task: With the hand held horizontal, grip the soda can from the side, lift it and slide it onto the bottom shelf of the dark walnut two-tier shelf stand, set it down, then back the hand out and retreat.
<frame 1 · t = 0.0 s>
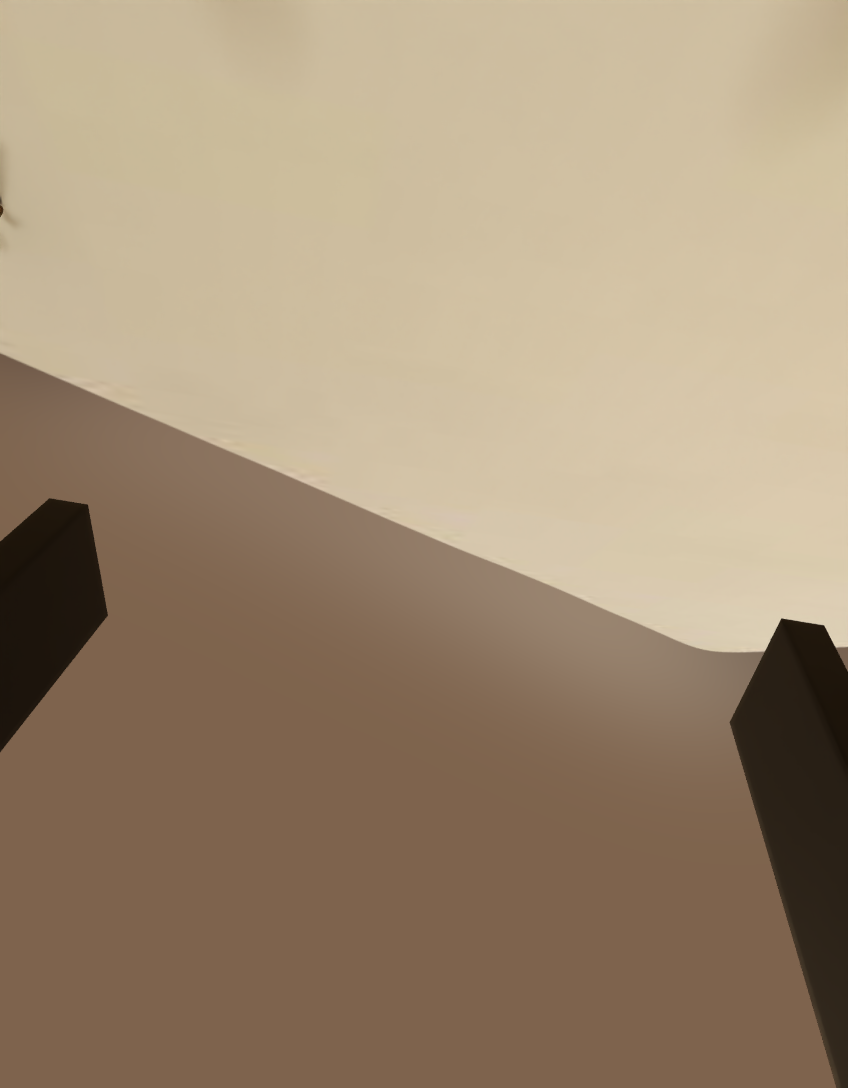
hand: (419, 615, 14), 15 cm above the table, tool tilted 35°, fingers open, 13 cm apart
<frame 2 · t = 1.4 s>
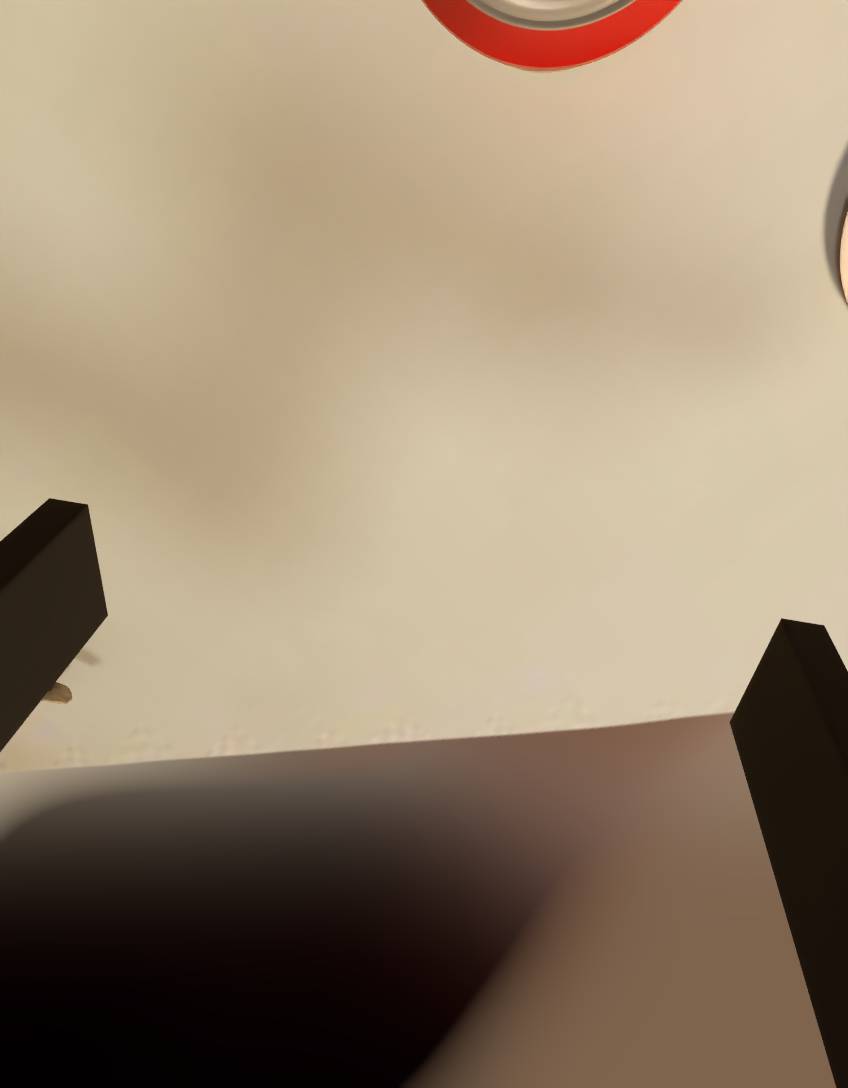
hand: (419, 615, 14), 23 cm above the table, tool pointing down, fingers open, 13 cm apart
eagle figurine: (29, 638, 49), on the table
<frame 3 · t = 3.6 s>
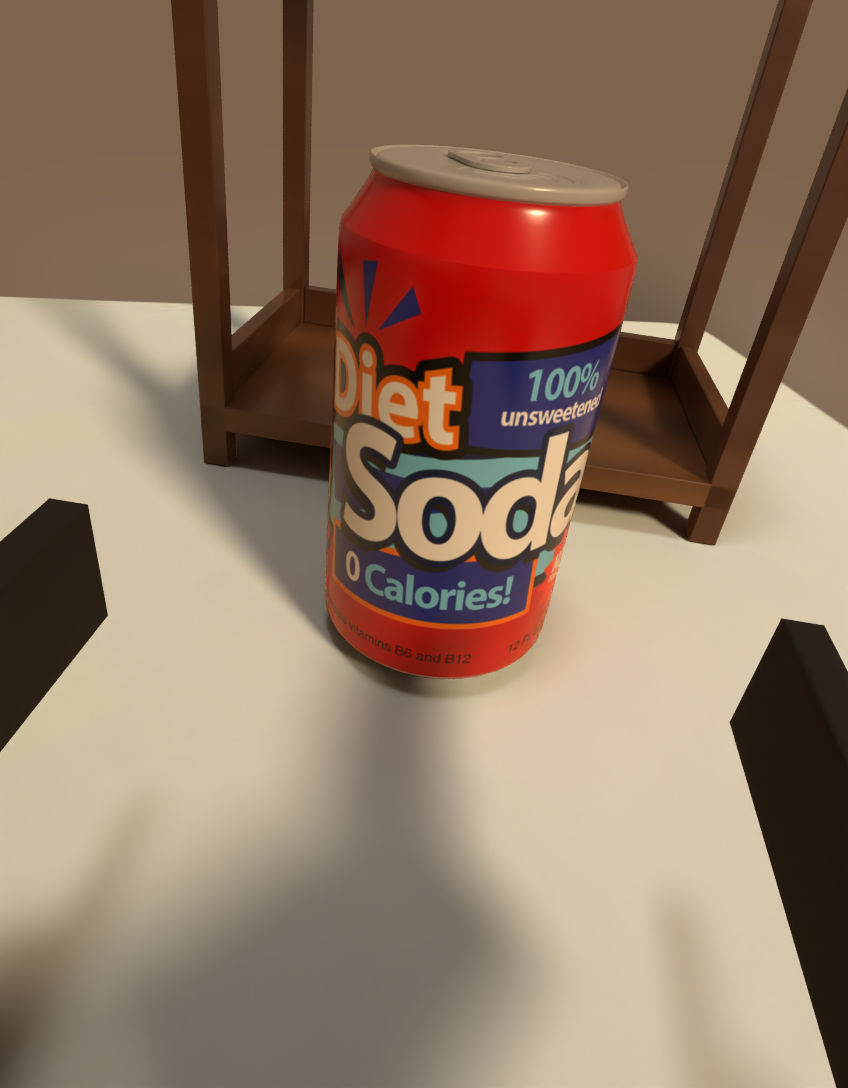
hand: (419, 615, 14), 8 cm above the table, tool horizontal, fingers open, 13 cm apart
soda can: (431, 623, 27), on the table
shelf stand: (467, 439, 39), on the table
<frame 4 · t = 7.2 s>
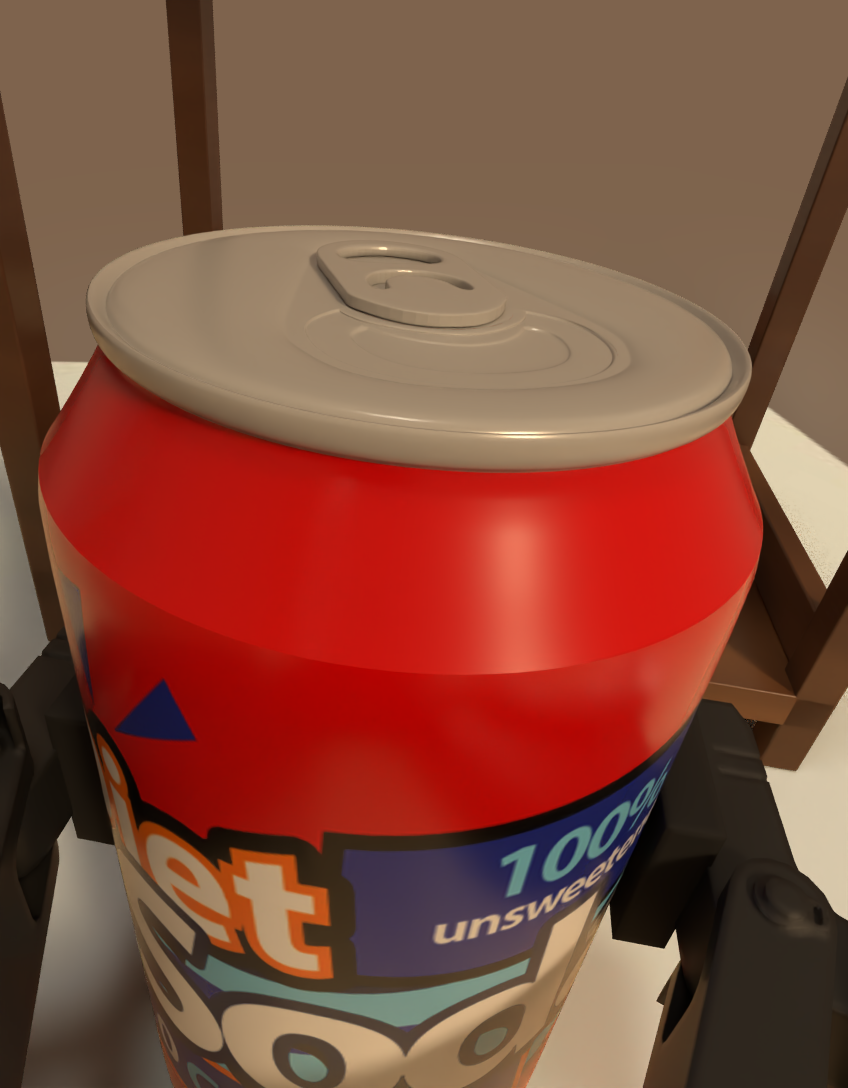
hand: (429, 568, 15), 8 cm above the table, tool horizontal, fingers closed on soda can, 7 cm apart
soda can: (354, 993, 16), on the table, touching gripper
shelf stand: (437, 576, 29), on the table
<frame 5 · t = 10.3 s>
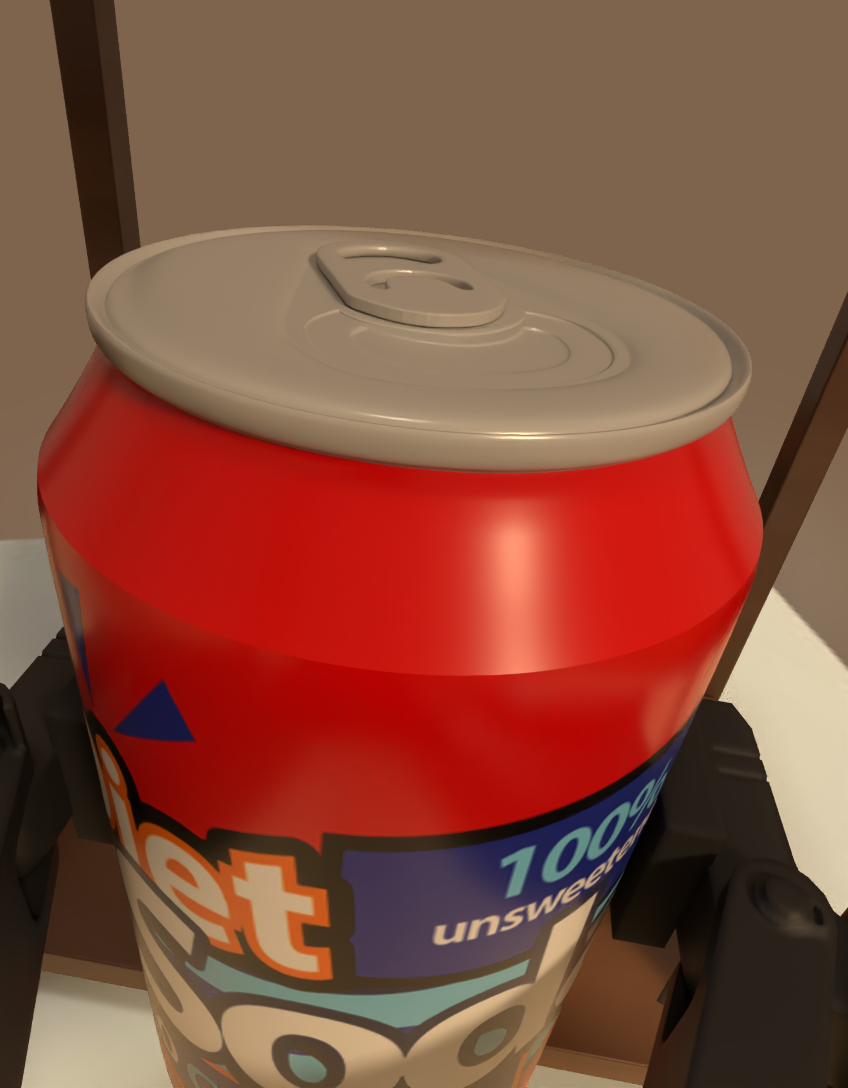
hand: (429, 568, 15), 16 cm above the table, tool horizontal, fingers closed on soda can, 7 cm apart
soda can: (354, 993, 16), point 8 cm above the table, touching gripper
shelf stand: (390, 848, 27), on the table
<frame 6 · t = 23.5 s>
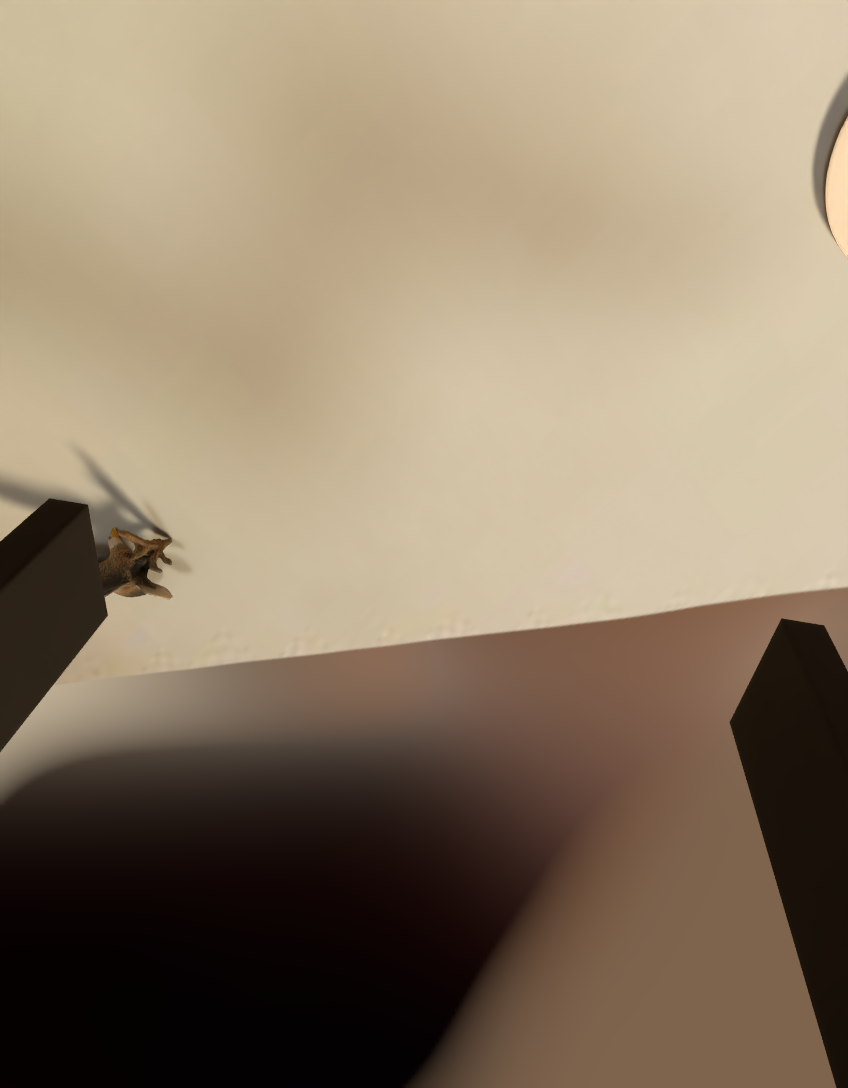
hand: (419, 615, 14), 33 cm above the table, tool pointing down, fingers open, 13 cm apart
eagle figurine: (130, 549, 57), on the table
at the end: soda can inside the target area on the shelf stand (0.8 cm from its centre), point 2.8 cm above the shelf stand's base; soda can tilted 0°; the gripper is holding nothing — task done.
